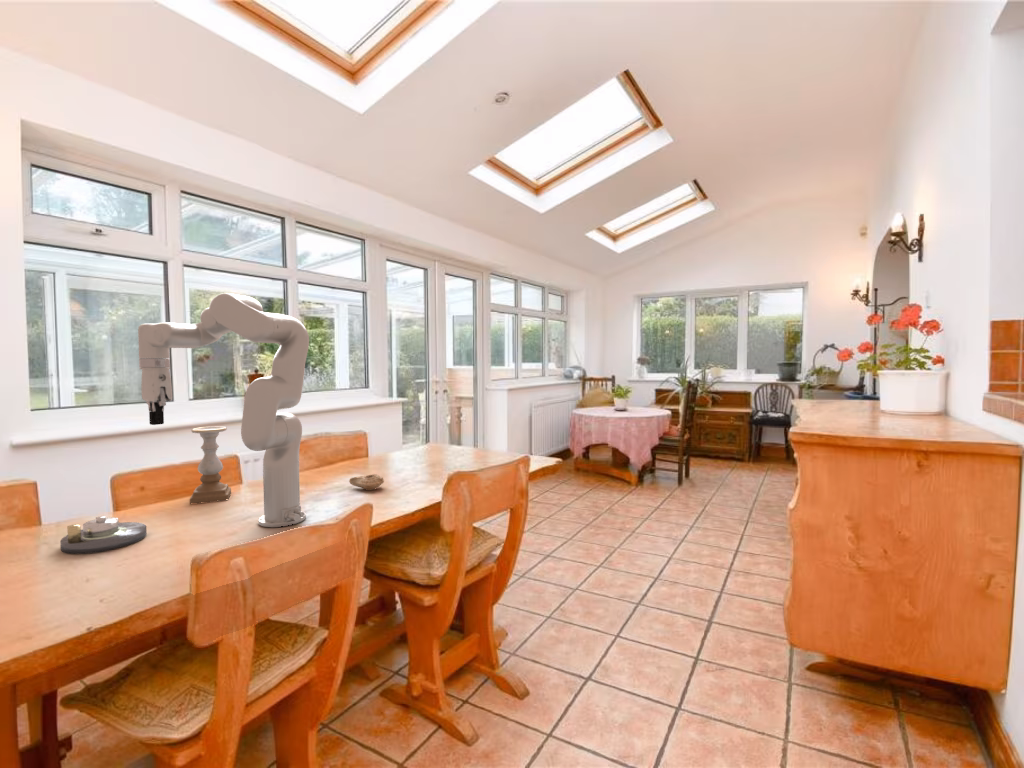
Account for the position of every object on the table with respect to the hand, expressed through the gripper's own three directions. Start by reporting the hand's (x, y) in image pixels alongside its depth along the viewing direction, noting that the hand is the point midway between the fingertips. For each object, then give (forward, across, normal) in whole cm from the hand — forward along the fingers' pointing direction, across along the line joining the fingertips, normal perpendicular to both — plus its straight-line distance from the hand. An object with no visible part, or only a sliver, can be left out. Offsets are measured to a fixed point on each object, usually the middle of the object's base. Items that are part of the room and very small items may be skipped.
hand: (156, 424), depth 151 cm
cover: (+25, -18, +20) cm, 36 cm away
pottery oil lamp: (+27, -32, -54) cm, 68 cm away
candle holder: (+27, +2, -16) cm, 32 cm away
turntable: (+27, -18, +19) cm, 38 cm away
